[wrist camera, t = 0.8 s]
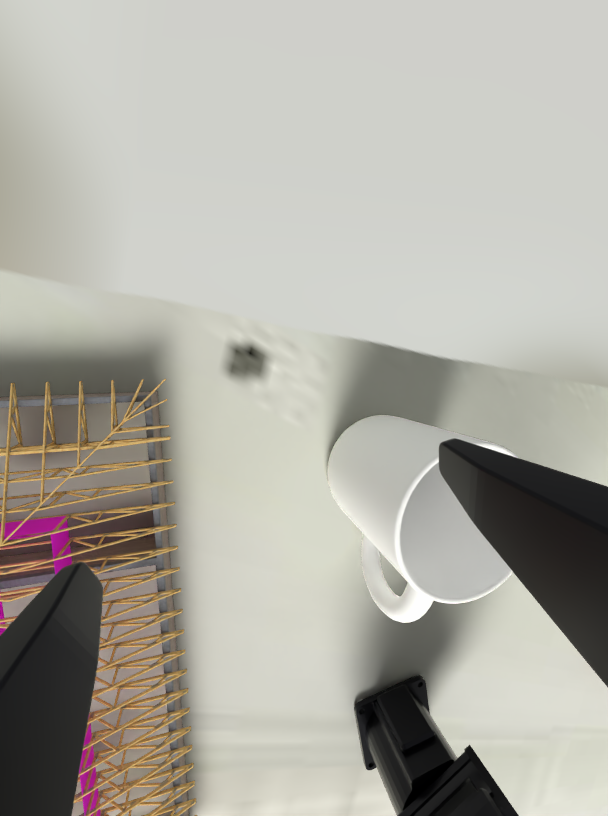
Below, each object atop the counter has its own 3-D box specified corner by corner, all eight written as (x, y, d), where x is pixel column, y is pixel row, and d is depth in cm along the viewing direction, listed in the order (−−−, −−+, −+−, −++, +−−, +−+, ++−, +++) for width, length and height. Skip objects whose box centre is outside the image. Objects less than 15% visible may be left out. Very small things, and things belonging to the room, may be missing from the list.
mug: (393, 567, 28) (492, 675, 19) (298, 556, 26) (353, 673, 16) (433, 425, 28) (557, 459, 18) (340, 401, 25) (423, 424, 16)
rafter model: (-111, 384, 19) (-255, 393, 13) (172, 376, 23) (159, 380, 17) (-20, 903, 23) (-96, 1084, 18) (203, 826, 27) (201, 954, 21)
